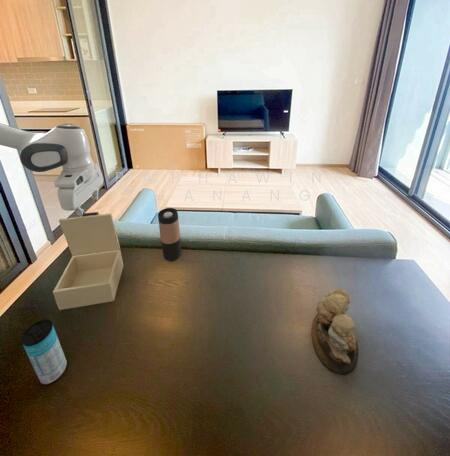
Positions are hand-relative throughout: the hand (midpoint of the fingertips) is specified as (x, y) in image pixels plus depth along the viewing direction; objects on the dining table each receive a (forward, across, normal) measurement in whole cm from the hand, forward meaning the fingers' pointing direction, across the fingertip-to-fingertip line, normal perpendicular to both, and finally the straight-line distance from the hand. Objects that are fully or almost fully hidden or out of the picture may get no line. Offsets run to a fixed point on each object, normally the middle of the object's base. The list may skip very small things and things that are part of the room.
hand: (88, 207), depth 87 cm
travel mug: (+26, -5, +27) cm, 38 cm away
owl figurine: (+26, +28, +79) cm, 88 cm away
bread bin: (+26, +10, +2) cm, 28 cm away
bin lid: (+10, +4, +1) cm, 10 cm away
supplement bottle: (+26, +36, +5) cm, 45 cm away
